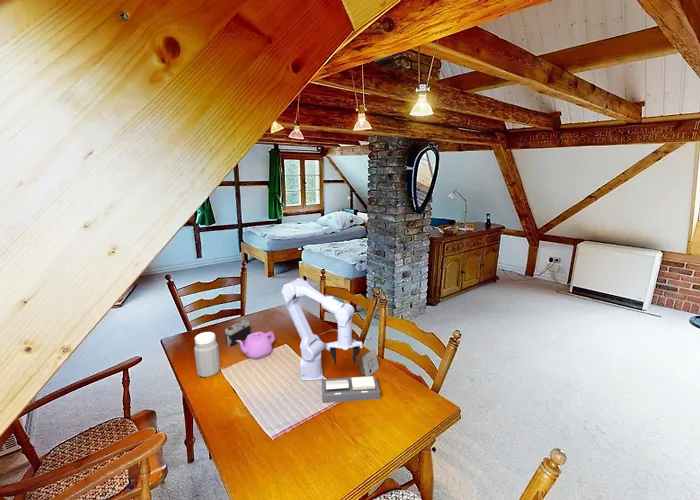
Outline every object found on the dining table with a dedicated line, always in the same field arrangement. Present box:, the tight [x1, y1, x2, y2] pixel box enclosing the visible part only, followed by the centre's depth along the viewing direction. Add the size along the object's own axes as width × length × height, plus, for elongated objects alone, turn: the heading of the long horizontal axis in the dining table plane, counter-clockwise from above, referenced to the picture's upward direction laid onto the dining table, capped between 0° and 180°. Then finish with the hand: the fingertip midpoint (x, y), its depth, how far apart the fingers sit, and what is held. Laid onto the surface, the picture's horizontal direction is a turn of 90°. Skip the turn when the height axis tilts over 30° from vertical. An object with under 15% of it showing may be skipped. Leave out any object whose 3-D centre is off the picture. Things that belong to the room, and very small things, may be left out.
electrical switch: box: [357, 349, 380, 377], centre depth 152 cm, size 9×5×9 cm, turn 141°
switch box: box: [321, 375, 381, 404], centre depth 139 cm, size 23×11×3 cm, turn 96°
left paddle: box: [326, 380, 349, 389], centre depth 138 cm, size 9×6×2 cm, turn 96°
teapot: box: [236, 330, 276, 360], centre depth 167 cm, size 13×20×11 cm, turn 132°
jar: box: [193, 331, 221, 378], centre depth 150 cm, size 10×10×18 cm
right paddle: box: [351, 375, 375, 390], centre depth 139 cm, size 9×6×2 cm, turn 96°
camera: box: [224, 319, 252, 348], centre depth 180 cm, size 14×9×10 cm, turn 144°
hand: (344, 363), depth 141 cm, fingers open, 7 cm apart
